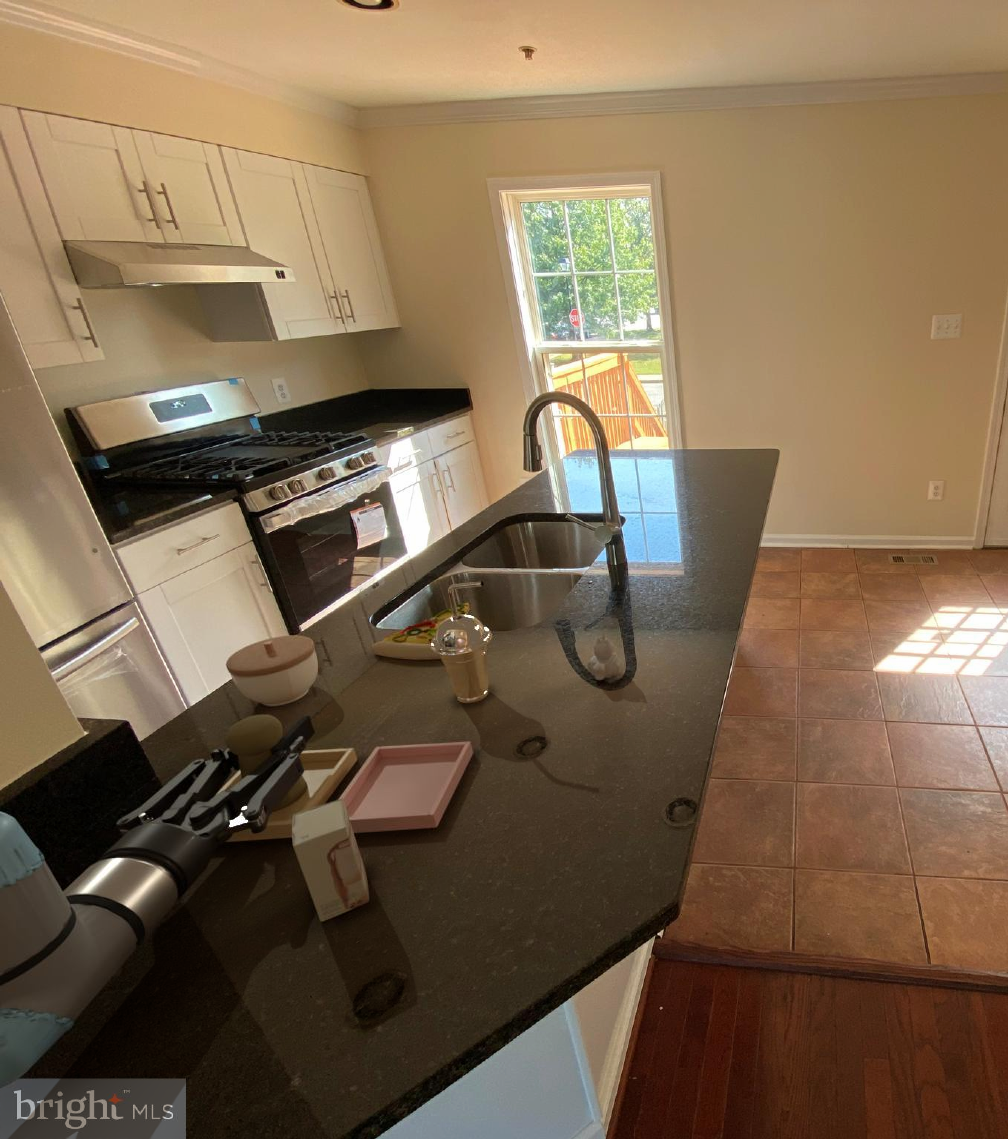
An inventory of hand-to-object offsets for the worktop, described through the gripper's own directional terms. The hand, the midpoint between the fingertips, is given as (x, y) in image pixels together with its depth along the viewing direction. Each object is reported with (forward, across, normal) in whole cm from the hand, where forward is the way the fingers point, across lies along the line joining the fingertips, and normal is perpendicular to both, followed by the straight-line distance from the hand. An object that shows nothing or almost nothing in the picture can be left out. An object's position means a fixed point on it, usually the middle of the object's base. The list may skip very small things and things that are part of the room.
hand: (288, 725), depth 78 cm
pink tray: (-5, +15, -7) cm, 17 cm away
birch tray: (-5, 0, -7) cm, 9 cm away
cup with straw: (+15, +17, -7) cm, 24 cm away
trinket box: (+18, -13, -7) cm, 23 cm away
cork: (-5, 0, -7) cm, 9 cm away
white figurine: (+19, +37, -7) cm, 42 cm away
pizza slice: (+37, +4, -7) cm, 38 cm away
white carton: (-20, +15, -7) cm, 26 cm away
